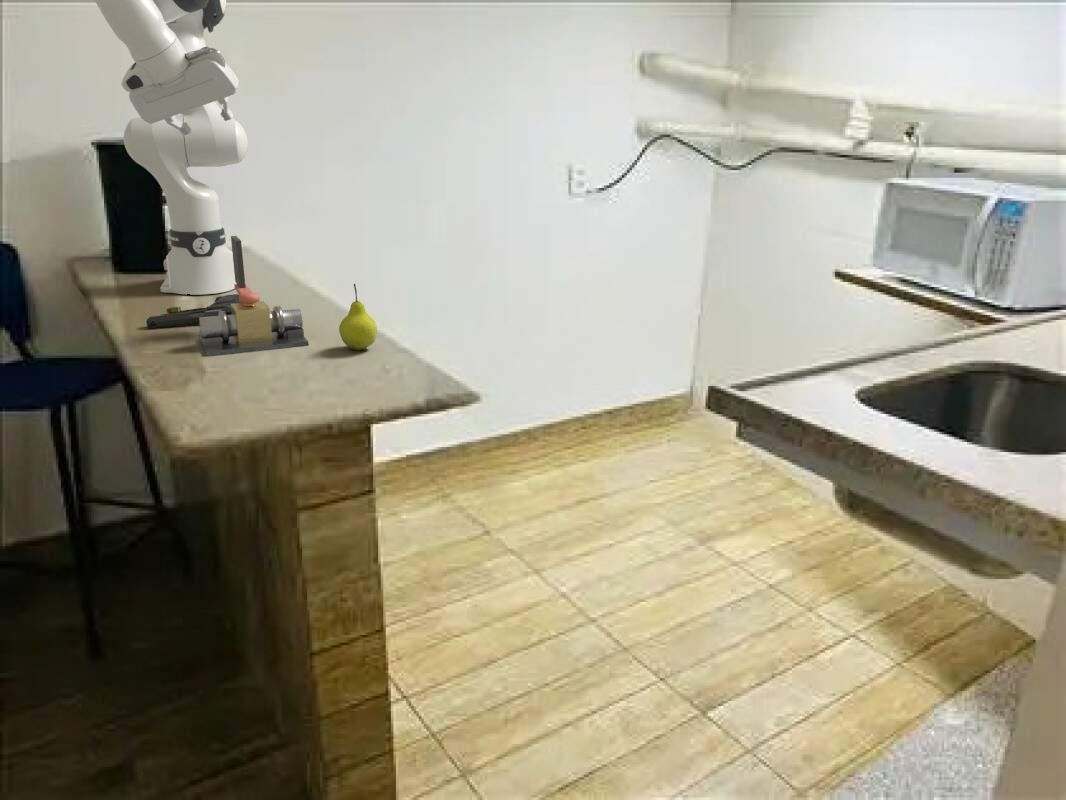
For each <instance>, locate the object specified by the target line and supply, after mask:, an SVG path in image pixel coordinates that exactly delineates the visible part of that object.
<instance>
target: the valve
mask: <svg viewBox="0 0 1066 800" xmlns="http://www.w3.org/2000/svg"><path fill="white" fill-rule="evenodd" d="M231 311H232V315H226V312H225V311H219V312H218V316H211V317H200V318H199V330H200V332H199V334H198V339H199V341H200V343H201V346H202V348H203V351H204V352H205V355H206V354H207V355H206V357H210V356H211V357H212V355H213V356H219V355H220V356H221V355H229V354H230V355H232V354H239V353H240V354H241V353H249V352H250V353H251V352H259V351H267V350H268V351H269V350H276V349H277V350H278V349H285V348H286V349H287V348H294V347H296V348H297V347H304V346H305V347H306V346H309V339H307V338H306V337H305V335H304V328H303V316H302V312H301V309H300V308H291V309H282V307H281V306H280V305H277V306H273V309H272V310H270V307H269V306H268V305H267V303H266V302H265V301H264V300H263V301H262V300H260V301H259V302H257V303H249V304H246V303H235V304H231Z"/></svg>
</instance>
